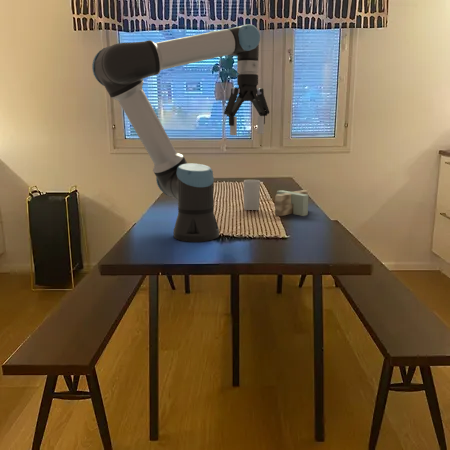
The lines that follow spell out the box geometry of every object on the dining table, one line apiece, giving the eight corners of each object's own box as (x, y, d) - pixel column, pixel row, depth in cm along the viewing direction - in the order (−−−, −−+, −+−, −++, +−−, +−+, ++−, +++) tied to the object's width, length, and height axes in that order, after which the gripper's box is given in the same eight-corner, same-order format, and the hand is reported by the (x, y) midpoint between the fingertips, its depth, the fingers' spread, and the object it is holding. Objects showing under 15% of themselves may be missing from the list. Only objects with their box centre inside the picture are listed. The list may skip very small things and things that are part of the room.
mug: (259, 211, 190) (259, 182, 187) (242, 210, 191) (242, 182, 188) (260, 206, 200) (260, 178, 197) (244, 205, 200) (245, 178, 197)
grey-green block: (302, 216, 181) (303, 195, 179) (276, 210, 192) (277, 191, 190) (307, 214, 183) (308, 194, 181) (281, 209, 194) (282, 190, 192)
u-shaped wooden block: (280, 216, 181) (281, 195, 179) (275, 214, 184) (275, 194, 182) (307, 210, 191) (308, 191, 189) (301, 208, 194) (302, 190, 192)
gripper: (227, 71, 155) (228, 136, 160) (279, 74, 171) (278, 133, 176) (214, 73, 161) (214, 135, 166) (265, 75, 176) (264, 132, 182)
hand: (247, 134), depth 171 cm, fingers open, 13 cm apart
